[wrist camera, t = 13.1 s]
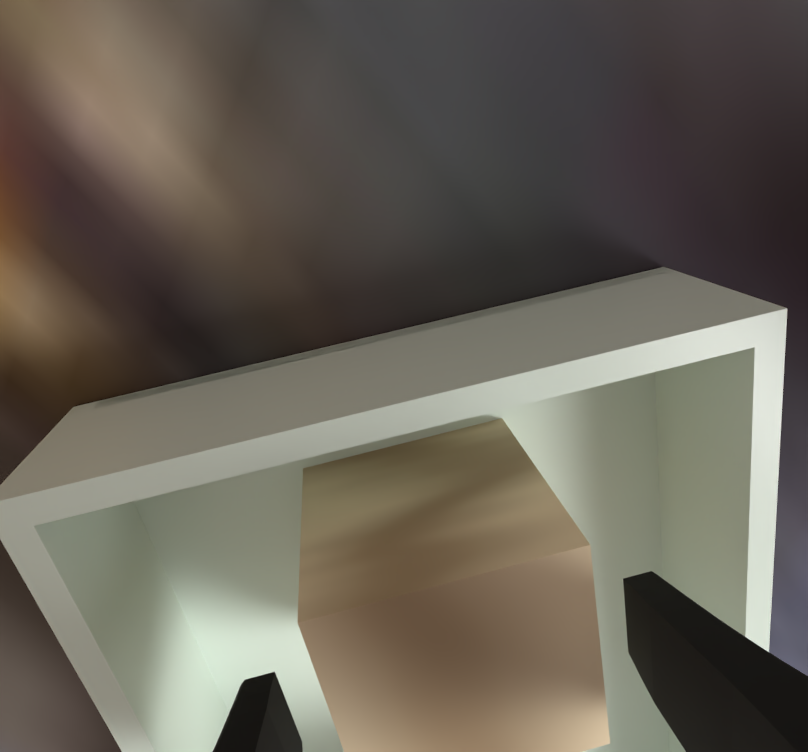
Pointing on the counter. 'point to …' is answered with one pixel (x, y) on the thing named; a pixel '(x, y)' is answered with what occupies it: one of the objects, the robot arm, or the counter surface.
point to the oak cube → (450, 600)
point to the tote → (387, 426)
